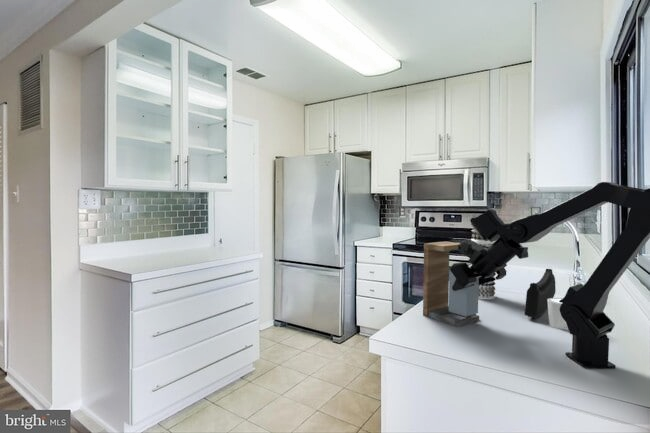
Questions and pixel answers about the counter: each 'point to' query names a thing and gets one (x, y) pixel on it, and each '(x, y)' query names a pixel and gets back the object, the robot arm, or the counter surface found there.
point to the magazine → (540, 295)
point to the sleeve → (463, 298)
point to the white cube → (556, 314)
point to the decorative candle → (488, 289)
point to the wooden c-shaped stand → (439, 283)
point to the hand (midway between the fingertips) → (459, 288)
